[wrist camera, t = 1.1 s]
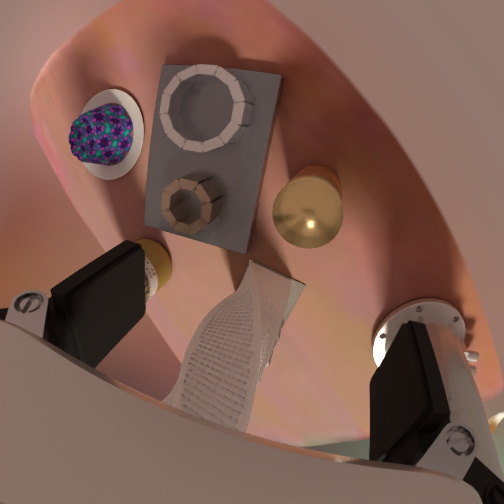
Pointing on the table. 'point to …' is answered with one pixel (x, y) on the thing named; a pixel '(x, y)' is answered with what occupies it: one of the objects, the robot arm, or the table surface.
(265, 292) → the skyscraper
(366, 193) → the table surface
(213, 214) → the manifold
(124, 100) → the pudding
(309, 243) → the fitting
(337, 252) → the table surface
